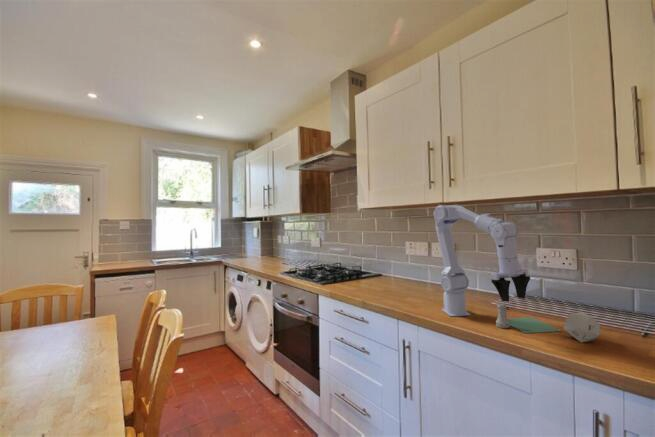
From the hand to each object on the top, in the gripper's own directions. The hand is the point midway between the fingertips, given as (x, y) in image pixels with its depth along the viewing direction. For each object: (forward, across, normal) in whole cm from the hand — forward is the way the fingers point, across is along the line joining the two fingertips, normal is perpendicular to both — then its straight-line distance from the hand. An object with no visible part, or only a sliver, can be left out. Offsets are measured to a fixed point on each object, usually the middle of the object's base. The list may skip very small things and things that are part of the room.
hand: (513, 299), depth 100 cm
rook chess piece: (+10, +1, +6) cm, 12 cm away
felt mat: (+11, +10, +3) cm, 15 cm away
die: (+12, +11, -12) cm, 20 cm away
